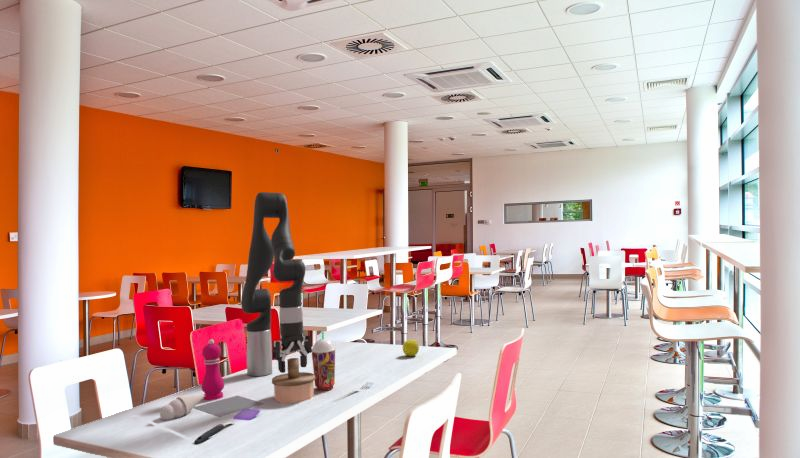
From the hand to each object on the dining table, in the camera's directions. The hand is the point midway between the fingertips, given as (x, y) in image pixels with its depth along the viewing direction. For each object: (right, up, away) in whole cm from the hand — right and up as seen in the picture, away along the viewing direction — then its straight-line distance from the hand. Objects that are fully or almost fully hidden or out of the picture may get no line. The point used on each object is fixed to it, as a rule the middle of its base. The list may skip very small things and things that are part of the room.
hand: (293, 369), depth 188 cm
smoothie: (+9, -9, +11) cm, 17 cm away
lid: (0, -4, 0) cm, 4 cm away
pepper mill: (-27, -11, +4) cm, 30 cm away
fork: (+18, -9, +2) cm, 21 cm away
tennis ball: (+40, -9, +59) cm, 71 cm away
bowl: (0, -10, 0) cm, 10 cm away
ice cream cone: (-31, -11, -13) cm, 35 cm away
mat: (-19, -10, -7) cm, 23 cm away
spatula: (-14, -11, -27) cm, 32 cm away
